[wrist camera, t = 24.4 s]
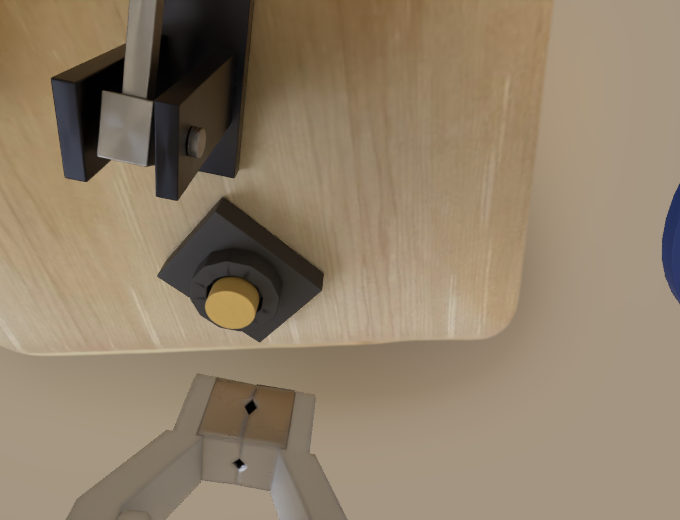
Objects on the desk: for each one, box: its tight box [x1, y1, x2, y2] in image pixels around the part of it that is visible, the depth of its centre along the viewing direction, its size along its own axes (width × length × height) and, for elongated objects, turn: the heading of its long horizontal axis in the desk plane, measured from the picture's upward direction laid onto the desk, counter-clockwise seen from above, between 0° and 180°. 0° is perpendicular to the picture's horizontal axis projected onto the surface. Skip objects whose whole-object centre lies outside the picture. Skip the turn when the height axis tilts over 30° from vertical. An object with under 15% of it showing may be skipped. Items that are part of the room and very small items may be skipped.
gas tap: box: [51, 0, 254, 201], centre depth 24 cm, size 12×6×12 cm, turn 168°
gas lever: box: [97, 0, 165, 167], centre depth 20 cm, size 13×4×4 cm, turn 168°
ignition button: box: [205, 276, 259, 329], centre depth 34 cm, size 4×4×2 cm
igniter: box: [157, 198, 324, 342], centre depth 36 cm, size 10×8×4 cm
